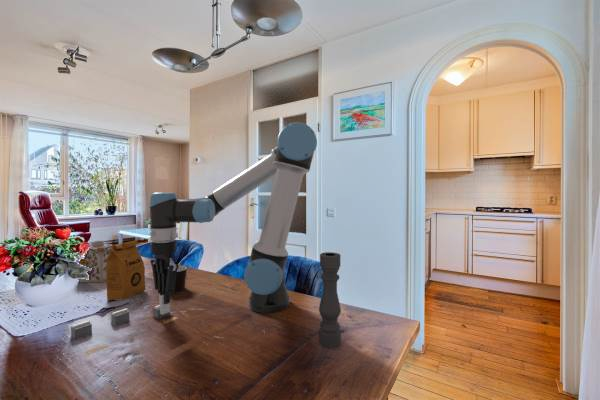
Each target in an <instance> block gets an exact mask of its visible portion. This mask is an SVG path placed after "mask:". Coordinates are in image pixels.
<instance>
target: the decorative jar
mask: <svg viewBox="0 0 600 400" xmlns="http://www.w3.org/2000/svg"><path fill="white" fill-rule="evenodd" d="M113 245H114V244H112V243H104V240H95V241H92V242H91V244H90V245H89V246H90V248H89V250H88V251H87V254H85V255H84V256H85V258H84V259H81V260H80V261H79V262H78V263H79V264H81V265H83V266H86V267H89V268H92V270H91V271H88V272H87V273H88V275H89V280H86V279H78V278H77V281H78V280H79V281H81V282H80V283H104V282H105V281H106V265H107V259H108V256H109V254H110V251H111V248H112V246H113Z"/></svg>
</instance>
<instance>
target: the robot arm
mask: <svg viewBox="0 0 600 400" xmlns="http://www.w3.org/2000/svg"><path fill="white" fill-rule="evenodd" d="M276 143H277V145H276V146H275V147H273V148H272V149H271V151H270V154H269V155H267V156H265V157H264V158H262V159H260V160H259V161H258V162H256V163H255V164H253V165H251V166H250V167H249V168H247V169H245V170H244V171H242V172H241V173H239V174H238V175H236V176H235V177H233V178H232V179H230V180H228V181H227V182H225V183H224V184H222V185H221V186H220V187H218V188H216V189H215V190H213V191H212V192H210V193H208V194H207V195H206V196H204V197H199V198H177V194H176V193H175V192H153V193H151V194H150V197H149V199H150V200H149V206H148V207H149V217H150V232H149V235H150V240H151V242H150V254H152V255H154V259H150V265H151V268H152V274H153V276H152V277H153V282H154V283H153V284H154V289H155V290H156V291H157V293H158V297H159V299H158V300H159V303H158V305H159V307H160V314H161V315H163V314H165V313H168V312H170V313H171V292H174V290H175V282H176V274H177V270H178V267H179V266H180V265H179V264H178V263H176V264H175V260H174V259H175V258H174V253H176V252H177V249H178V246H177V240H176V239H177V237H178V236H177V233H178V232H177V223H199V224H203V223H211V222H212V221H213V220H214V219H215V217H216V216H217V215H219V214H220V213H221V212H222V211H223V210H225V209H226V208H228V207H229V206H231V205H232V204H234V203H236V202H238V201H239V200H240V199H242V198H243V197H245V196H246V195H248V194H250V193H252V192H253V191H255V190H256V189H257V188H259V187H261V185H264V184H266V182H268V181H269V180H271V179H273V178H274V179H273V184H272V188H271V192H270V197H269V200H268V204H267V208H266V212H265V215H264V220H263V224H262V228H261V232H260V236H259V239H258V241H257V242H256V243H254V244H253V245H252V249H251V252H250V257H249V261H248V264H247V265H246V267H245V269H244V275H243V277H244V282H245V285H246V286H247V288H248V290H250V291H251V293H250V296H249V298H248V307H249V309H250V310H252V311H254V312H257V313H260V314H261V313H262V314H273V313H279V312H282V311H284V310H286V309H288V308H289V307H290V304H291V301H290V300H291V299H290V295H289V293H288V289H287V286H286V264H287V261H288V257H289V252H288V250H287V248H286V244H287V241H288V237H289V234H290V229H291V225H292V221H293V217H294V214H295V209H296V206H297V201H298V198H299V197H298V196H299V193H300V189H301V185H302V181H303V179H304V178H303V177H304V175H306V174H307V173H309V172H310V169H311V165H312V163H313V161H312V160H313V157H314V153H315V151H316V149H317V146H318V139H317V136H316V133H315V131H314V130H313V128H311V126H309V125H308V124H306V123H304V122H300V121H299V122H298V121H294V122H291V123H288V124H286V125H285V126H284V127H283V128H282V129H281V130H280V132H279V133H278V136H277V142H276ZM174 293H175V292H174Z"/></svg>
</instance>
